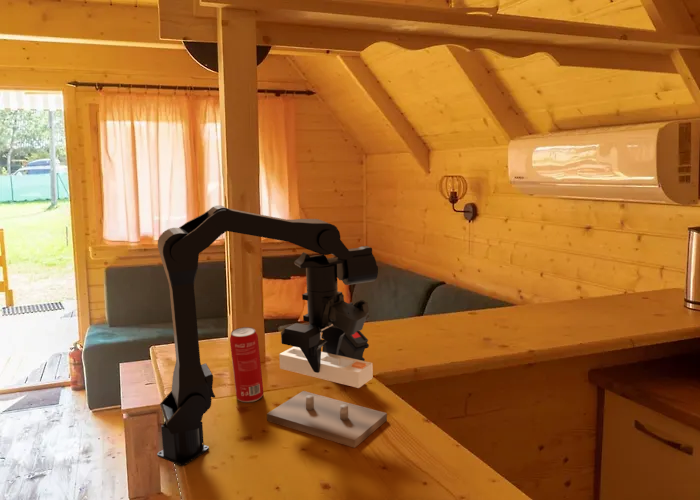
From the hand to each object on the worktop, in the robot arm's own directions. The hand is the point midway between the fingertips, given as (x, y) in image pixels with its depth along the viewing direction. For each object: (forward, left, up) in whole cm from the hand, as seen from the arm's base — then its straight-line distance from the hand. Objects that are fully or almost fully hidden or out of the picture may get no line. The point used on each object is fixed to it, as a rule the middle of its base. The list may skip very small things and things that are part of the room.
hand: (324, 367), depth 116 cm
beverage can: (+1, +20, -12) cm, 23 cm away
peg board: (+1, 0, -11) cm, 11 cm away
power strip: (0, 0, -1) cm, 1 cm away
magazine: (+20, +8, -12) cm, 24 cm away
